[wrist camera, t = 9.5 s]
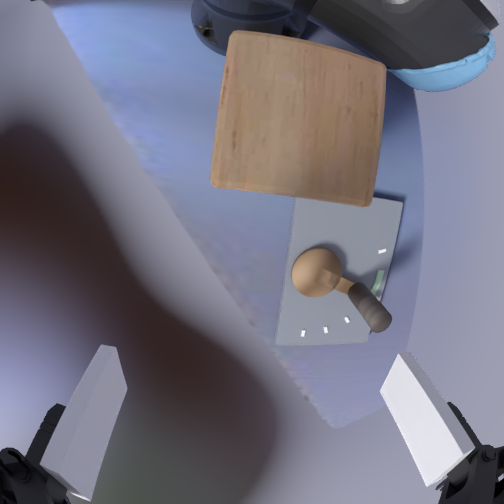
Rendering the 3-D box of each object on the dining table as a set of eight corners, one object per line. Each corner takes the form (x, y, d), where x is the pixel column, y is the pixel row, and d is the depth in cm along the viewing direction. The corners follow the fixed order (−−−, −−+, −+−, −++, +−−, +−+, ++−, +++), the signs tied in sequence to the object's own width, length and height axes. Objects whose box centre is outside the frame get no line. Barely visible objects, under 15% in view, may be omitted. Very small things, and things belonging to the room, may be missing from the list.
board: (295, 186, 35) (298, 187, 33) (397, 200, 36) (403, 202, 34) (274, 339, 43) (275, 345, 41) (363, 337, 44) (366, 343, 42)
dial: (282, 283, 37) (294, 321, 29) (306, 238, 35) (328, 265, 27) (364, 316, 40) (388, 351, 31) (387, 279, 38) (419, 309, 29)
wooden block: (311, 107, 31) (389, 63, 12) (302, 180, 35) (373, 210, 16) (234, 95, 30) (230, 26, 12) (224, 170, 34) (208, 188, 15)
